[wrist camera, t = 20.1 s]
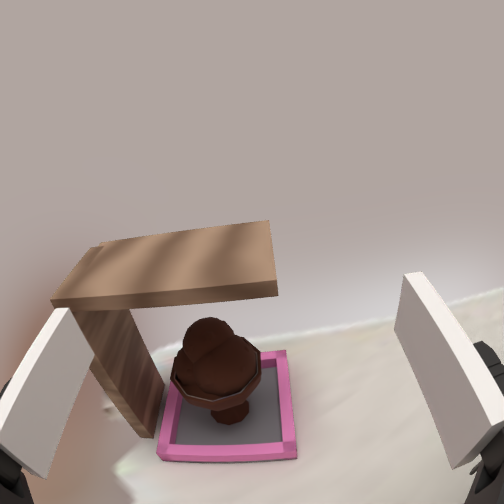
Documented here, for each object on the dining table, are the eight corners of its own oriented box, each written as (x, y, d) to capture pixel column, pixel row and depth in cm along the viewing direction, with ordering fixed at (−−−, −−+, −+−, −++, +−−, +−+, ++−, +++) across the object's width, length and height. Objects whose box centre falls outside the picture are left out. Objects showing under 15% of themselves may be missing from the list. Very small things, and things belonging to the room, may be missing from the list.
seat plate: (286, 360, 47) (285, 349, 46) (296, 458, 32) (296, 451, 31) (180, 368, 48) (175, 357, 47) (163, 460, 33) (156, 453, 32)
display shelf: (284, 373, 45) (268, 220, 33) (290, 435, 35) (276, 279, 23) (154, 379, 46) (93, 243, 34) (140, 437, 36) (49, 299, 24)
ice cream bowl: (175, 417, 39) (136, 344, 32) (224, 368, 46) (202, 290, 39) (236, 456, 33) (208, 389, 26) (284, 395, 40) (276, 316, 33)
